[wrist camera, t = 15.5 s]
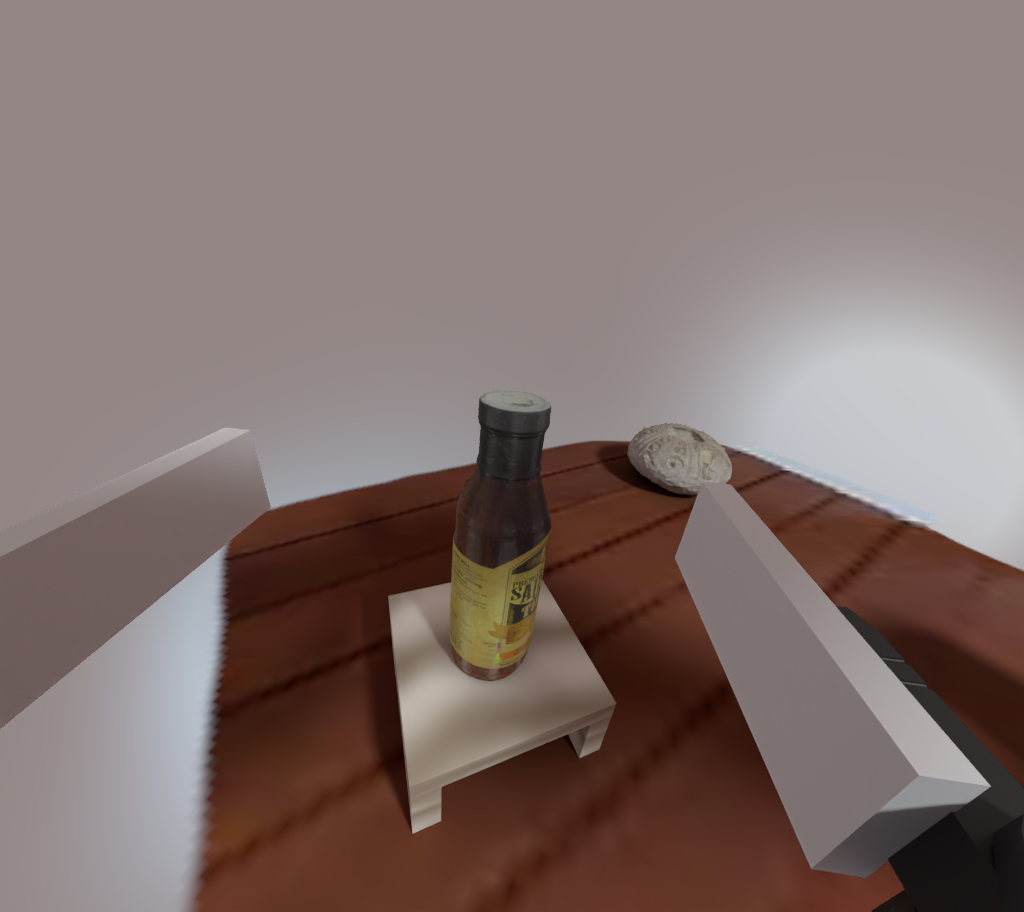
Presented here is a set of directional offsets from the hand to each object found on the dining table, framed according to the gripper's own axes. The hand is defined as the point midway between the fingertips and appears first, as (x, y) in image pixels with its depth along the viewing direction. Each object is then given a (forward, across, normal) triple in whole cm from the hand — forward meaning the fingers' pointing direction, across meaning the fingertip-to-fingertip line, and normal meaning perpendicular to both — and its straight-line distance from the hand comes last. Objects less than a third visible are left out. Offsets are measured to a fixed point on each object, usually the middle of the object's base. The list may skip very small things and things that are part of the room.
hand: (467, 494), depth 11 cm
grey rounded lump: (+53, +28, -27) cm, 66 cm away
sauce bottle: (+10, 0, -20) cm, 22 cm away
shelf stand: (+10, 0, -26) cm, 28 cm away
